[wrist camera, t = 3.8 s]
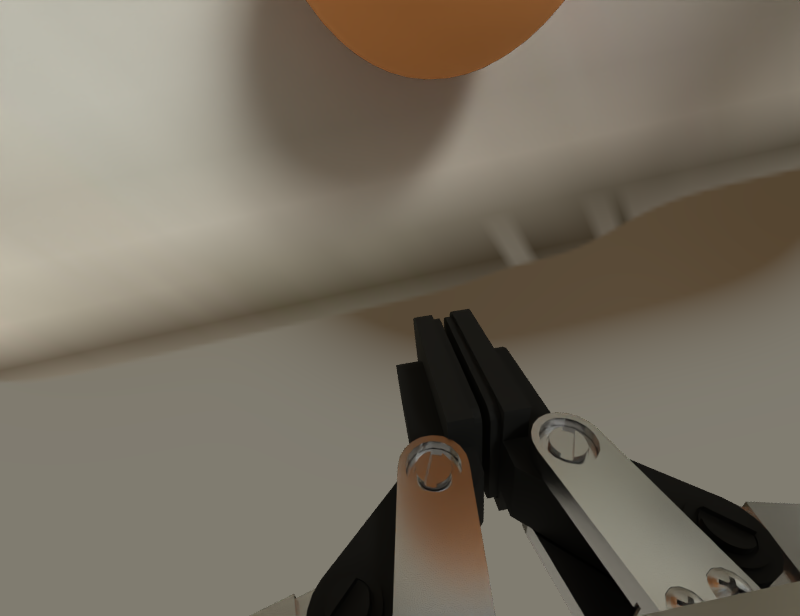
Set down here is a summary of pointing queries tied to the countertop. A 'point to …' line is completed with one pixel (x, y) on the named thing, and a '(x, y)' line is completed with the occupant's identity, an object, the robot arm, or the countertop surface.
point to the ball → (433, 32)
